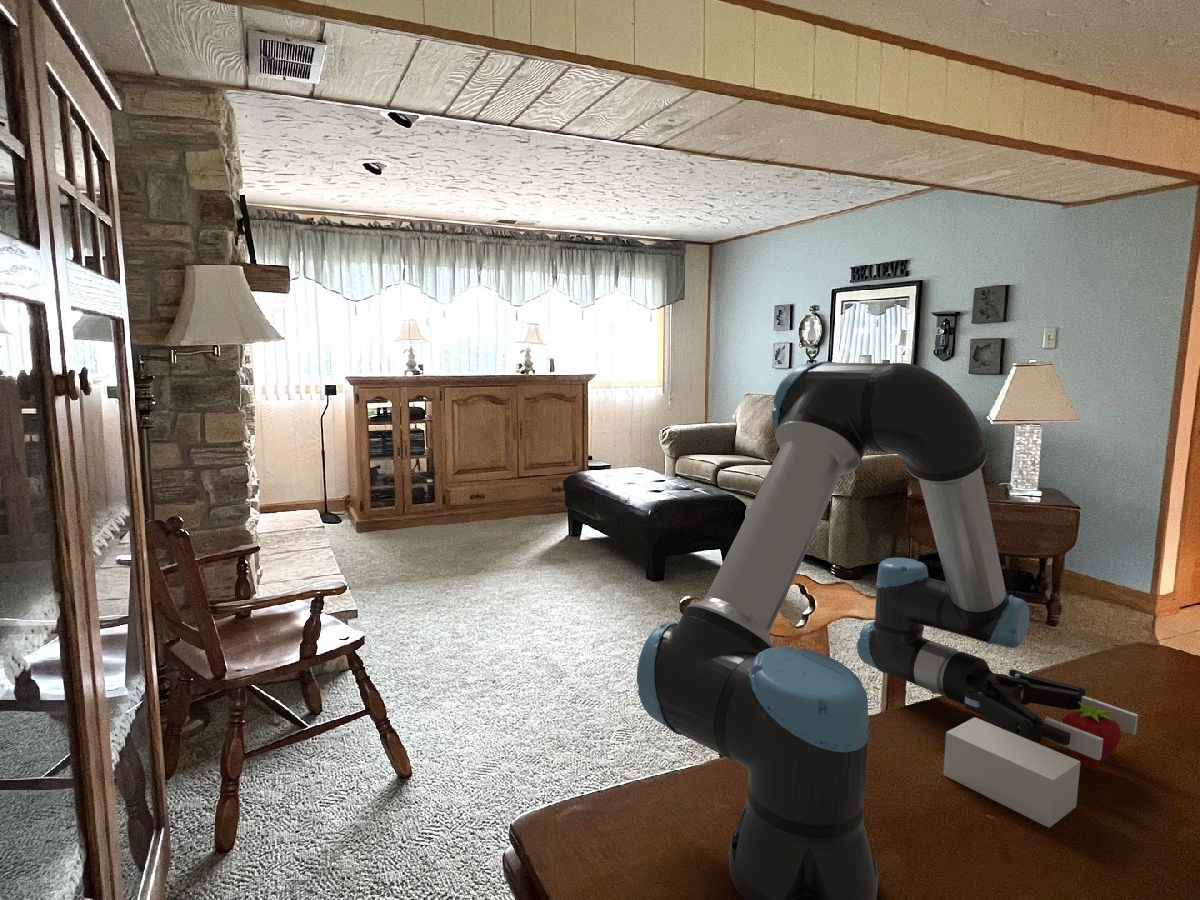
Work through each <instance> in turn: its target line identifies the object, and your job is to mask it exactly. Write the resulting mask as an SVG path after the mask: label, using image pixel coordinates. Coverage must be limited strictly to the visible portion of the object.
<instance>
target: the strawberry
mask: <svg viewBox="0 0 1200 900" xmlns="http://www.w3.org/2000/svg"><path fill="white" fill-rule="evenodd" d="M1089 697H1090V698H1092V699H1093V700H1094V699H1095V698H1093V696H1092V695H1091V694H1089ZM1094 702H1095V701H1094ZM1078 703H1079V704H1080V706H1081V707H1082V708H1083V709H1078V710H1069V711H1070V713H1067V714H1066V715H1065V716H1064V717H1063V718H1062V721H1061V722H1062V723H1064V724H1067V725H1069V726H1072V727H1075V728H1077V729H1080V730H1082V731H1085V732H1088V733H1090V734H1093V735H1095V736H1098V737H1101V738H1103V747H1102V757H1101V759H1100V760H1096V759H1094V758H1091V757H1089V756H1086V755H1084V754H1082V753H1079V752H1077V751H1074V750H1072V749H1069V751H1070V752H1071V754H1072V755H1073V756H1074V757H1075V759H1076V760H1078V761H1080V766H1082V768H1084V769H1086V770H1093V769H1095V768H1096V767H1097V766H1098V765H1099V764H1101V763H1102V762H1104V761H1105V760H1106V759H1108V758H1109V756H1111V754H1112V753H1113V752H1115V751H1116V749H1117V746H1118V744H1119V743H1120V740H1121V738H1122V733H1121V730H1120V727H1119V725H1118V724H1117V723H1116V722H1117V721H1116V720H1114V719H1112V718H1111V717H1109V716H1107V715H1106V713H1113V712H1111V711H1105V710H1100V709H1099V710H1098V711H1097V708H1098V705H1097V703H1096V702H1095V703H1096V705H1097V708H1096V709H1095V708H1094V707H1089V706H1087V705H1085V704H1083V703H1081V702H1078ZM1115 721H1116V722H1115Z"/></svg>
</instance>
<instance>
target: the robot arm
mask: <svg viewBox="0 0 1200 900" xmlns="http://www.w3.org/2000/svg"><path fill="white" fill-rule="evenodd" d="M772 403H773V404H774V408H773V409H771V419H772V425H773V429H774V431H775V435H774V436H775V440H776V441H775V442H776V443H777V445H778V447H779V450H778V452H777V454H776V456H775V458H774V460H773V462H772V464H771V466H770V468H769V470H768V472H767V473H766V476H765V477H764V480H763V482H762V484H761V486H760V488H759V489H758V492H757V494H756V496H755V498H754V500H753V502H752V504H751V506H750V508H749V510H748V512H747V514H746V516H745V518H744V520H743V522H742V524H741V525H740V528H739V530H738V532H737V534H736V536H735V538H734V540H733V542H732V544H731V546H730V548H729V550H728V552H727V554H726V556H725V558H724V560H723V561H722V564H721V566H720V568H719V569H718V571H717V574H716V576H715V578H714V580H713V582H712V584H711V586H710V588H709V590H708V592H707V594H706V596H705V598H704V599H703V600H700V601H696V602H693V603H690V604H688V605H687V606H686V607H685V609H684V612H683V613H682V616H681V618H680V619H679V622H676V621H675V622H668V623H664V624H661V625H660V626H659V627H656V628H655V629H654V630H653V631H652V632H651V633H650V634H649V636H648V637H647V638H646V640H645V642H644V644H643V645H642V648H641V652H640V655H639V657H638V663H637V668H636V670H637V671H636V684H637V687H638V690H637V693H638V696H639V697H638V698H639V700H640V703H641V705H642V708H643V709H644V710H645V712H646V713H647V714H648V716H650V717H651V718H652V719H653V720H654V721H657V722H658V723H660V724H662V725H663V726H665V727H666V728H667V729H669V730H670V731H671V732H672V733H674V734H676V735H682V736H684V737H685V738H687V739H690V740H691V741H693V742H695V743H698V744H699V745H702V746H703V747H705V748H707V749H709V750H711V751H714V752H715V753H717V754H719V755H722V757H725V758H728V759H729V760H732V761H733V762H735V763H737V764H739V765H741V766H743V767H744V768H746V770H747V772H748V773H747V786H748V787H747V800H746V802H745V804H744V807H743V809H742V812H741V815H740V817H739V820H738V822H737V825H736V827H735V830H734V832H733V834H732V836H731V838H730V839H731V840H730V843H729V844H730V845H729V850H728V851H729V857H728V871H729V877H730V879H731V882H732V884H733V886H734V888H735V891H737V893H738V894H739V895H740V898H742V899H743V900H878V889H879V888H878V886H879V873H878V868H877V863H876V860H875V858H874V856H873V854H872V852H871V847H870V843H869V840H868V839H869V838H868V835H867V831H866V828H865V825H864V824H865V823H864V802H865V790H866V789H865V787H866V771H867V755H868V743H869V742H868V740H869V737H870V734H871V733H870V730H871V729H870V727H871V726H870V720H869V702H868V701H869V700H868V694H867V691H866V689H865V687H864V685H863V683H862V681H861V680H860V679H859V677H858V676H857V675H856V674H855V673H854V671H852V670H851V669H850V668H848V667H847V666H846V665H845V664H843V663H842V662H840V661H838V660H836V659H834V658H833V657H830V656H828V655H825V654H823V653H820V652H818V651H815V650H810V649H806V648H802V649H796V648H794V646H776V647H775V645H774V643H773V640H772V638H771V635H770V633H771V630H772V628H773V626H774V623H775V622H776V619H777V617H778V615H779V613H780V610H781V608H782V605H783V604H784V602H785V599H786V597H787V596H788V593H789V590H791V589H790V588H791V586H792V584H793V582H794V580H795V578H796V576H797V573H798V571H799V569H800V566H801V564H802V562H803V559H804V558H805V555H806V553H807V551H808V549H809V547H810V545H811V542H812V541H813V538H814V536H815V533H816V532H817V529H818V526H819V524H820V522H821V520H822V518H823V516H824V514H825V511H826V509H827V507H828V505H829V502H830V501H831V498H832V496H833V494H834V491H835V489H836V487H837V485H838V483H839V480H840V479H841V476H844V475H848V474H851V473H853V472H855V471H857V469H858V467H859V466H860V464H861V461H862V459H863V457H864V455H865V453H866V452H868V451H869V452H877V453H878V452H880V453H892V454H896V455H897V456H899V457H902V458H903V459H904V461H905V466H906V469H907V471H908V472H909V474H910V475H911V476H912V477H914V478H916V479H917V480H918V482H919V486H920V488H921V489H920V490H921V493H922V496H923V501H924V503H925V504H924V505H925V507H926V511H927V514H928V519H929V523H930V526H931V529H932V533H933V538H934V542H935V546H936V549H937V552H938V556H939V559H940V560H939V561H940V564H941V567H942V570H943V575H944V578H945V581H943V580H938V579H935V578H932V577H931V578H930V577H929V572H928V567H927V565H926V564H925V563H924V562H922V561H918V560H916V559H913V558H907V557H888V558H885V559H884V560H882V561H881V562H879V564H878V568H877V569H878V570H877V576H876V577H877V578H876V584H875V606H874V607H875V608H874V609H875V610H874V611H875V613H874V621H871V622H870V621H869V622H868V623H866V624H865V625H864V626H863V627H862V628H861V630H860V632H859V638H858V639H857V641H856V642H857V643H856V651H857V655H858V657H859V659H860V660H861V661H862V662H863V663H864V664H866V665H867V666H870V667H872V668H874V669H876V670H877V671H879V672H881V673H883V674H886V675H890V676H893V677H896V678H897V679H901V680H903V681H906V682H908V683H911V684H913V685H915V686H917V687H919V688H920V687H921V688H923V689H924V690H927V691H930V692H931V694H933V695H936V694H937V695H940V696H943V697H946V698H947V699H949V700H951V701H953V702H956V703H958V704H961V705H963V706H964V707H963V708H964V709H966V710H969V711H971V712H973V713H976V714H978V715H981V716H982V717H984V718H985V719H988V720H989V721H991V722H992V723H994V724H996V725H997V726H998V727H1000V728H1002V729H1004V730H1007V731H1009V732H1011V733H1014V734H1016V735H1018V736H1021V737H1023V738H1026V739H1028V740H1030V739H1031V740H1030V741H1033V742H1035V743H1038V744H1041V742H1042V738H1043V739H1045V740H1047V741H1050V742H1053V743H1055V744H1057V745H1060V746H1062V747H1064V748H1066V749H1069V750H1070V749H1072V750H1074V751H1077V752H1079V753H1082V754H1084V755H1086V756H1089V757H1091V758H1094V759H1096V760H1100V759H1101V757H1102V747H1103V738H1101V737H1098V736H1095V735H1093V734H1090V733H1088V732H1085V731H1082V730H1080V729H1077V728H1075V727H1072V726H1069V725H1067V724H1064V723H1062V721H1059V720H1056V719H1054V718H1051V717H1048V716H1047V717H1045V718H1044V722H1043V718H1042V717H1040V716H1039V715H1037V714H1036V713H1035V712H1033V711H1032V710H1031V709H1029V708H1028V707H1027V705H1029V704H1035V705H1040V706H1046V707H1051V708H1058V709H1064V710H1069V711H1070V710H1078V709H1083V708H1082V707H1081V706H1080V704H1079V703H1078V702H1081V703H1083V704H1085V705H1087V706H1089V707H1094V708H1095V709H1096V708H1097V705H1098V708H1097V711H1098V710H1099V709H1100V710H1105V711H1111V712H1113V713H1106V715H1107V716H1109V717H1111V718H1112V719H1114V720H1116V721H1117V722H1116V721H1115V722H1116V723H1117V724H1118V725H1119V727H1120V732H1124V733H1127V734H1130V735H1132V736H1134V735H1136V734H1137V730H1138V719H1139V714H1137V713H1135V712H1132V711H1129V710H1126V709H1124V708H1123V709H1122V708H1121V707H1120V708H1119V707H1117V706H1114V705H1111V704H1109V703H1106V702H1102V701H1100V700H1098V699H1095V698H1093V697H1092V698H1093V699H1094V700H1093V699H1092V698H1091V697H1090V696H1089V697H1088V696H1086V693H1087V688H1084V687H1081V686H1076V685H1072V684H1069V683H1068V684H1067V683H1065V682H1060V681H1056V680H1053V679H1048V678H1045V677H1041V676H1040V677H1039V676H1036V675H1033V674H1032V675H1031V674H1028V673H1025V672H1022V671H1019V670H1017V669H1013V668H1011V669H1009V670H1008V671H1009V673H1008V674H1004V673H996V672H993V671H992V670H991V669H990V666H989V664H988V663H987V661H986V660H985V659H983V658H982V657H979V656H976V655H973V654H970V653H967V652H964V651H959V650H958V649H957V648H954V647H952V646H948V645H945V644H942V643H940V642H939V643H938V642H936V641H934V640H930V639H928V638H925V637H923V634H924V631H925V630H924V629H925V626H926V627H929V628H934V629H937V630H941V631H943V632H944V631H945V632H949V633H952V634H956V635H958V636H962V637H965V638H969V639H973V640H976V641H979V642H982V643H986V644H988V645H992V644H993V645H996V646H1001V647H1005V648H1010V649H1014V648H1015V649H1016V648H1018V647H1019V646H1020V645H1021V644H1022V643H1024V641H1025V638H1026V637H1027V634H1028V630H1029V625H1030V618H1031V617H1030V616H1031V614H1030V613H1031V612H1030V611H1031V610H1030V606H1029V605H1028V603H1027V601H1025V600H1024V599H1022V598H1019V597H1016V596H1014V595H1013V594H1010V595H1008V594H1007V592H1006V587H1005V581H1004V576H1003V572H1002V567H1001V562H1000V561H1001V560H1000V558H999V557H1000V555H999V552H998V546H997V541H996V536H995V532H994V527H993V522H992V517H991V516H992V515H991V512H990V506H989V502H988V498H987V497H988V496H987V493H986V486H985V481H984V477H983V473H982V468H983V466H984V465H985V463H986V461H987V456H988V451H987V448H986V441H985V437H984V433H983V430H982V428H981V427H980V423H979V422H978V419H977V417H976V415H975V414H974V413H973V411H972V410H971V408H970V406H969V405H968V403H967V402H966V401H965V399H964V398H963V397H962V396H961V395H960V393H958V392H957V391H956V390H955V388H953V386H951V385H950V384H949V383H948V382H947V381H946V380H944V379H943V378H941V376H939V375H938V374H936V373H934V372H932V370H931V371H930V370H929V369H926V368H924V367H922V366H918V365H916V364H912V363H907V362H892V363H891V362H890V363H885V362H884V363H882V362H877V363H876V362H834V361H829V360H827V361H826V360H824V361H819V362H810V363H805V364H801V365H798V366H796V367H794V368H793V369H791V370H789V372H788V373H787V374H786V375H785V376H784V378H783V379H782V380H781V381H780V383H779V385H778V387H777V389H776V391H775V394H774V397H773V401H772ZM1094 701H1095V702H1096V703H1097V705H1096V703H1095V702H1094ZM1018 726H1019V727H1018Z"/></svg>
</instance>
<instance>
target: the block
mask: <svg viewBox="0 0 1200 900" xmlns="http://www.w3.org/2000/svg"><path fill="white" fill-rule="evenodd" d="M944 744H945V747H944V757H943V758H944V760H943V775H944V776H945V777H947V778H949V779H951V780H953V781H954V782H957V783H959V784H960V785H962V786H965V787H967V788H969V789H970V790H973V791H975V792H976V793H978V794H981V795H983V796H984V797H987V798H989V799H990V800H992V801H995V802H997V803H999V804H1001V805H1003V806H1004V807H1006V808H1008V809H1010V810H1013V811H1014V812H1017V813H1019V814H1021V815H1023V816H1025V817H1027V818H1028V819H1031V820H1032V821H1035V822H1036V823H1038V824H1041V826H1045V827H1046V828H1051V827H1053V826H1054V825H1055V824H1056V823H1058V822H1059V821H1060V820H1061V819H1063V818H1064V817H1065V816H1067V815H1068V814H1070V812H1072V811H1073V810H1075V809H1076V808H1077V804H1078V803H1077V801H1078V800H1077V799H1078V793H1079V792H1078V791H1079V780H1080V770H1081V763H1080V761H1079V760H1078V759H1077V758H1073V757H1071V756H1069V755H1066V754H1065V753H1061V752H1059V751H1056V750H1054V749H1052V748H1049V747H1047V746H1045V745H1042V744H1041V743H1035V742H1033V741H1031V740H1030V739H1029V740H1028V739H1026V738H1023V737H1021V736H1018V735H1016V734H1014V733H1011V732H1009V731H1008V730H1006V729H1004V728H1002V727H1000V726H998V725H997V726H996V725H994V724H992V723H990V722H987V721H985V720H983V719H980V718H977V717H972V718H971V719H968V720H967V721H965V722H963V723H961V724H959V725H958V726H956V727H955V726H954V728H951V729H949V730H948V731H946V732H945V743H944Z"/></svg>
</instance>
